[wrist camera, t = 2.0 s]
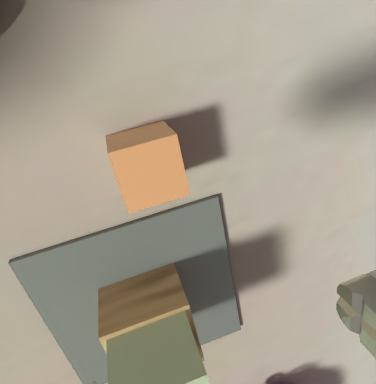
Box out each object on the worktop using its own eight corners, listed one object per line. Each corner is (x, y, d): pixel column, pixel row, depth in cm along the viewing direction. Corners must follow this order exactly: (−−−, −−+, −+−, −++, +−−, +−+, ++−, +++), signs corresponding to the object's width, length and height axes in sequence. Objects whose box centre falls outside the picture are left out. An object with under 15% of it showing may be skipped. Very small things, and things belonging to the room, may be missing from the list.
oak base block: (98, 288, 30) (98, 338, 25) (173, 262, 31) (189, 304, 26) (121, 339, 34) (126, 392, 29) (188, 314, 35) (204, 360, 30)
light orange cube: (105, 135, 25) (107, 153, 20) (163, 120, 26) (176, 134, 21) (123, 188, 27) (128, 213, 23) (175, 172, 28) (190, 194, 24)
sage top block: (106, 340, 25) (108, 415, 20) (184, 310, 26) (207, 374, 21) (129, 387, 28) (137, 462, 23) (198, 359, 29) (221, 425, 24)
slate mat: (9, 259, 27) (8, 263, 26) (216, 194, 30) (218, 196, 30) (87, 386, 36) (87, 390, 36) (239, 326, 39) (240, 329, 39)
